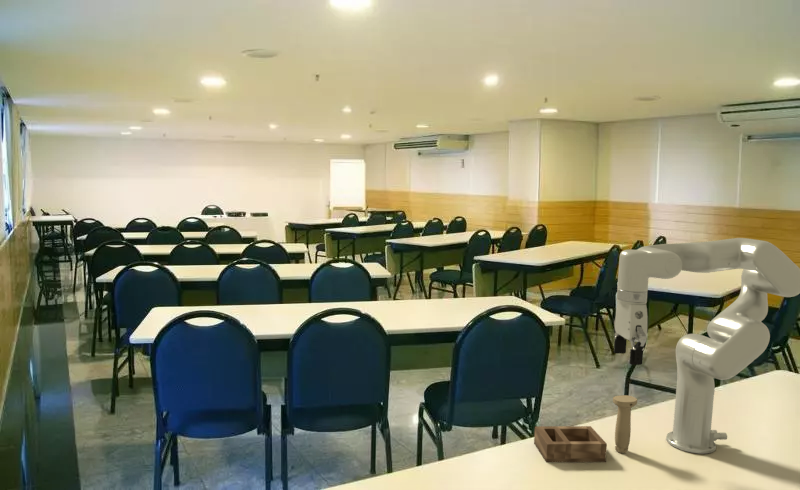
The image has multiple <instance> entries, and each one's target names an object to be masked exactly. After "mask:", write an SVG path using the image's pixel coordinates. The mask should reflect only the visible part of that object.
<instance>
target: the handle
mask: <svg viewBox="0 0 800 490" xmlns="http://www.w3.org/2000/svg"><path fill="white" fill-rule="evenodd" d="M612 403H613V404H614V405H615V406H617V414H616V421H615V429H614V430H615V431H614V442H615V446H614V449H615V451H616V452H618V453H621V454H626V453H627V452H629V445H630V443H631V442H630V441H631V426H632V425H631V422H632V421H631V416H632V414H631V413H632V408H633V407H635V406H637V404H638V398H637V397H635V396H632V395H627V394H625V395H622V394H621V395H616V396H613V397H612Z"/></svg>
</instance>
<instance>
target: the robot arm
mask: <svg viewBox="0 0 800 490" xmlns="http://www.w3.org/2000/svg"><path fill="white" fill-rule="evenodd" d="M618 260H619V261H618V273H617V275H618V276H617V287H616V288H617V289H616V290H617V291H616V302H617V304H616V311H615V318H614V320H613V324H614V325H613V327H614V329H613V331H614V336H613V338H614V340H613V341H614V343H613V344H614V345H613V353H614V354H623V355H624V354H626V353H627V342H628V341H629V342H630V345H631V346H630V347H631V348H630V350H629V364H630V365H631V366H632V365H633V366H634V365H637V366H640V365H643V358H644V357H643V356H644V351H645V347H646V343H647V341H648V308H647V302H648V291H649V290H648V289H649V278H655V279H661V280H669V279H673V278H675V277H677V276H678V275H679V274H680V273H681V272H682V271H684V272H690V273H697V274H698V273H700V274H702V273H703V274H710V273H715V272H723V271H730V270H738V269H739V270H742V272H741V282H740V284H741V285H740V287H741V288H740V291H739V295H738V297H737V298H736V299H734V301H733V302H732V303H731V304H729V306H727V307H726V308H724V309H723V310H722V311H721V312H719V313H718V314H717V315H716V316H715V317H714V318H712V319H711V320H710V322H708V324H707V327H706V329H707V330H706V331H707V335H708V336H705V335H703V334H699V333H688V334H685V335H682V336H681V337H680V338H679V340H678V341H677V343H676V347H675V361H676V369H677V370H676V371H677V372H676V374H677V375H676V376H677V377H676V387H675V389H676V390H675V400H674V401H675V403H674V414H673V415H674V416H673V427H672V428H673V429H672V431H670V432H668V433H667V434H666V438H665V439H666V441H667V443H668V444H669V445H671V446H673V447H674V448H676V449H678V450H681V451H684V452H688V453H692V454H699V455H700V454H703V455H705V454H711V453H713V452H715V451H716V448H717V445H716V441H717V440H720V441H721V440H722V441H723V440H728V434H727V433H726V432H718V430H717V429H712V423H713V422H712V421H713V413H714V412H713V411H714V398H715V391H716V390H715V389H716V388H715V380H714V379H717V380H722V381H726V380H730V379H732V378H734V377H735V376H737V375H738V374H739V373H740V372H742V371H743V370H744V369H745V368H747V367H748V366H749V365H750V364H752V363H753V362H754V361H755V360H757V359H758V358H759V357H760V356H761V355H762V354H763V353H764V352H765V350H767V347H768V345H769V343H770V340H771V339H770V338H771V334H770V330H769V328H768V327H767V325H766V324H764V323H763V322H762V321H764V320H765V318H766V317H767V315H768V312H769V304H768V294H771V295H775V296H779V297H784V298H791V297H797V296H798V295H799V294H800V267H799V266H798V265H797V264H796V263H795V262H793V261H792V259H791V258H789V256H788V255H787V254H785V253H784V252H783V251H782V250H781V249H780V248H778V246H776V245H775V244H773V243H771V242H769V241H767V240H761V239H760V240H759V239H755V238H754V239H753V238H748V237H747V238H745V237H736V238H735V237H734V238H726V239H718V240H717V239H716V240H708V241H700V242H699V241H698V242H681V243H679V242H678V243H677V242H676V243H661V244H652V245H645V246H641V247H639V248H637V249H625V250H622V251H621V252H620V254H619V259H618ZM714 441H715V442H714Z"/></svg>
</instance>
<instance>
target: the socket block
mask: <svg viewBox="0 0 800 490" xmlns="http://www.w3.org/2000/svg"><path fill="white" fill-rule="evenodd" d="M533 444H534V445H535V447H536V449H537V450H538V452H539V454H540V455H541V456H542V458H543V460H544V461H545V463H606V461H607V459H606V458H607V449H608V448H607V447H608V444H607V442H606V441H605V440H604V439H603V438H602V437H601V436H600V434H598V432H597V431H596V430H595V429H594V428H593V427H592V426H591V425H584V426H583V425H582V426H580V425H579V426H578V425H576V426H574V425H573V426H569V425H565V426H563V425H560V426H558V425H557V426H556V425H555V426H549V425H547V426H545V425H544V426H542V425H541V426H540V425H539V426H534V438H533Z"/></svg>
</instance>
